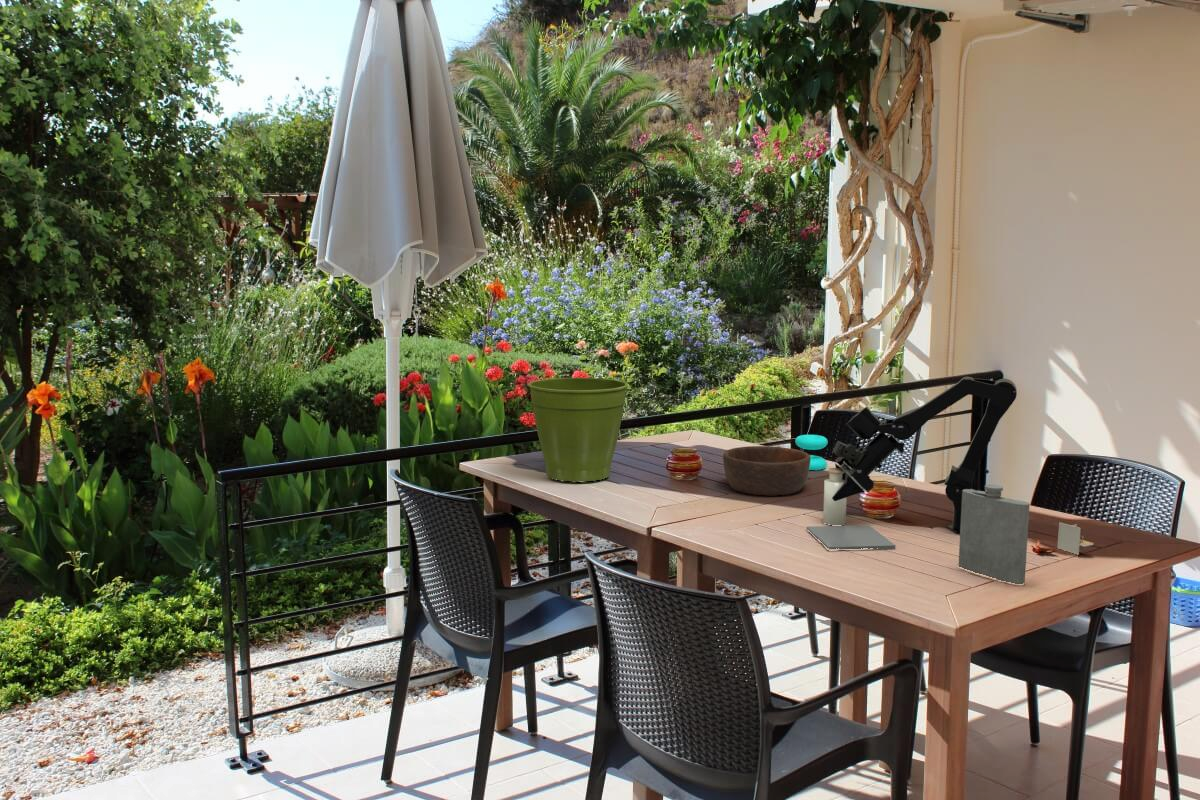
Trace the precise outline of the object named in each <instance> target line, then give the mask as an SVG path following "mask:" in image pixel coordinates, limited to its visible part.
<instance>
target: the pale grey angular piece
mask: <svg viewBox="0 0 1200 800" xmlns="http://www.w3.org/2000/svg"><path fill="white" fill-rule="evenodd" d="M1082 530H1083V529H1082V528H1081V527H1079V526H1077V524H1072V525H1071V524H1067V523H1064V522H1061V521H1060V522H1058V532H1057V533H1058V534H1057V535H1058V536H1057V546H1056V547H1057V548H1058V549H1062V550H1064V551H1068V552H1071V553H1074V554H1077V555H1079V556H1080V546H1082V547H1089V546H1093V545H1094V542H1090V541H1087V540H1084V537H1085V536H1084V535H1081V531H1082ZM1057 548H1056V549H1057Z"/></svg>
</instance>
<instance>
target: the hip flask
mask: <svg viewBox="0 0 1200 800" xmlns="http://www.w3.org/2000/svg"><path fill="white" fill-rule="evenodd" d="M972 489H973V488H972ZM972 489H964V490H962V507H961V526H960V534H959V545H958V546H959V547H958V566H959V567H962V568H964V569H967V570H970V571H973V572H975V573H979V574H983V575H986V576H989V577H992V578H996V579H998V580H1001V581H1006V582H1011V583H1015V584H1023V583H1026V582H1025V581H1026V569H1027V568H1026V567H1027V565H1026V564H1027V550H1028V537H1029V535H1028V534H1029V521H1030V520H1029V518H1030V517H1029V516H1030V502H1028V501H1024V500H1020V499H1019V500H1017V499H1011V498H1008V497H1004V496H1002V492H1003V491H1004V490H1003V489H1004V487H1003V486H1002V485H1000V484H985V485H984V490H985V491H984V490H983V491H982V490H976V489H973V490H972Z"/></svg>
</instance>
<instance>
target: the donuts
mask: <svg viewBox="0 0 1200 800" xmlns="http://www.w3.org/2000/svg"><path fill="white" fill-rule="evenodd" d="M794 442H795V445H796V446H797V447H799V448H800V449H804V450H810V451H811V450H812V451H813V450H814V451H815V450H822V449H824V448H825V447H826V446H827V445H828V442H829V441H828V438H826V437H825V436H823V435H818V434H803V435H802V434H801V435H799V436H797V437H796V438H795V440H794ZM809 455H810V458H811V460H810V467H809V471H810V470H815V471H822V470H824V469H826V468H827V465H828V462H827V460H826V459H825V458H823V456H819V455H813V454H809ZM821 469H822V470H821Z"/></svg>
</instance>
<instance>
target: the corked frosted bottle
mask: <svg viewBox="0 0 1200 800" xmlns="http://www.w3.org/2000/svg"><path fill="white" fill-rule="evenodd" d="M827 473H828V474H829V475H828V477H829V478H827V479H824V483H823V484H824V485H823V488H824V489H823V512H822V514H823V518H822V519H823V520H822V523H823V522H824V523H826V524H830V525H843V526H845V525H846V524H845V523H846V521H847V520H846V519H847V497H846V498H843V499H840V500H837V501H834V500H833V499H832V497H833V496H834V494H835V493H836V492H837V491H838V489H839V488H840V487H841V486H842V484H843V483H844V482H845V480H843V479H842V474H843V473H844V469H842V468H836V467H829V468H827ZM824 523H823V524H824ZM844 524H845V525H844Z"/></svg>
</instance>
